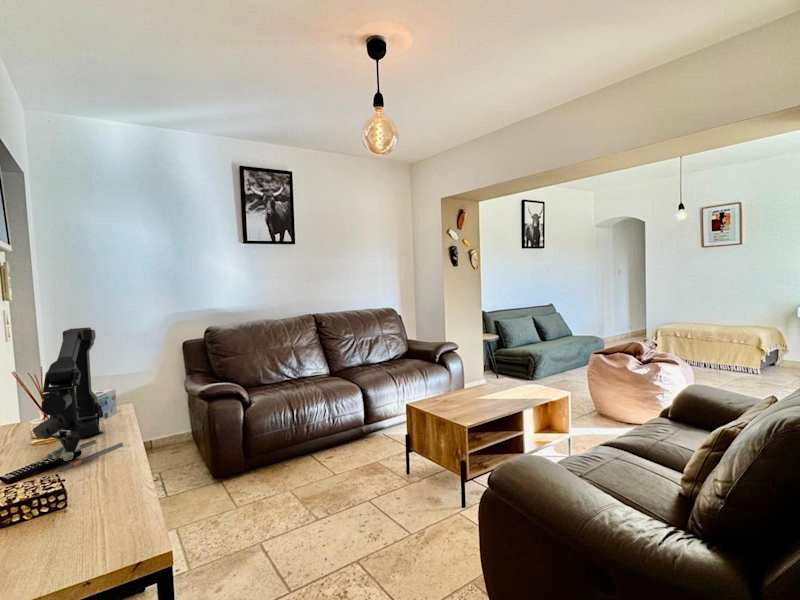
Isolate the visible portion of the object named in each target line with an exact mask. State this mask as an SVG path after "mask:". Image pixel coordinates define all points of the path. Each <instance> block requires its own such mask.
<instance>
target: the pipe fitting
mask: <svg viewBox="0 0 800 600" xmlns="http://www.w3.org/2000/svg"><path fill="white" fill-rule="evenodd" d="M80 445H81V444H80V442H79V443H78V445H77V447H76V450H78V449H79V448H80ZM76 450H75V452H77V451H76ZM78 451H79V450H78ZM74 454H75V453H74ZM74 454H73V452H69V451H67V450H65V448H64V447H63V445H61V446H59V447H58V448H56V449H55V450H52V451H50V452H48V453H46V454H45V457H46V460H47V459H50V458H52V457H54V459H57V458H58V457H60V458H61V459H62V458H63V460H64V461H67V462H69V461H68V460H71V461H73V460H72V459H74Z"/></svg>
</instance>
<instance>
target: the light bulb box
mask: <svg viewBox="0 0 800 600" xmlns="http://www.w3.org/2000/svg"><path fill="white" fill-rule="evenodd" d="M116 391H117V390H116V388H113V389H112V388H110V389H108V388H107V389H106V388H105V389H98V390H96V391H92V392H93V393H94V394H95V395H96V396H97V399H98V402H99V403H100V406H101V407H102V410H103V417H102V418H100V419H99V422H101V421H100V420H102V419H104V420H106V419H108V418H110V417H109V416H111V417H112V415H113V416H114V414H115V415H117V414H118V408H117V407H118V406H117V394H116V393H117V392H116ZM116 413H117V414H116ZM96 415H97V414H96ZM107 417H108V418H107ZM105 418H106V419H105ZM102 421H103V420H102Z"/></svg>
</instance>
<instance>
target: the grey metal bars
mask: <svg viewBox="0 0 800 600" xmlns="http://www.w3.org/2000/svg"><path fill="white" fill-rule="evenodd" d="M95 444H97V440H96V439H93V440H90V441H88V442H85V443H82V444H79V445H80V448H79V449H80V450H82V449H85V448H88V447H90V446H92V445H95ZM123 446H124V443H123V442H119V443H117V444H114V445H112V446H109V447H107V448H104V449H101V450H100V451H97V452H95V453H92V454H91V455H88V456H85V457H83V458H81V459H75V460H71V461H69V464H67V465H65V466H62V467H59V472H65V471H67V470H70V469H72V468H76V467H77V466H80V465H82V464H83V463H87V462H89V461H91V460H93V459H96V458H99V457H100V456H102V455H105V454H108V453H110V452H113V451H115V450H117V449H119V448H122V447H123ZM44 460H46V456H44V457H43V458H41V460H39V461H36V462H35V463H32V464H31V465H33V464H36V463H39V462H41V461H44Z"/></svg>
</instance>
